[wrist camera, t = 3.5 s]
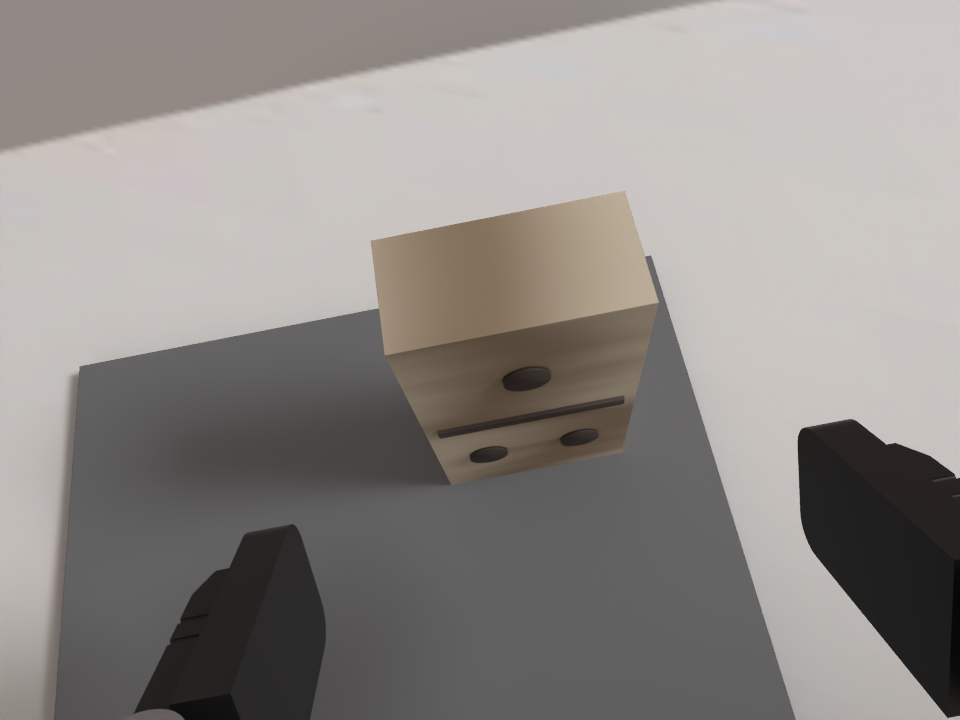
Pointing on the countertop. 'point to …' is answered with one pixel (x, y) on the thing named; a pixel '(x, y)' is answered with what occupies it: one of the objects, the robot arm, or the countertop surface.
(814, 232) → the countertop surface
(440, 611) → the mat
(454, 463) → the domino
